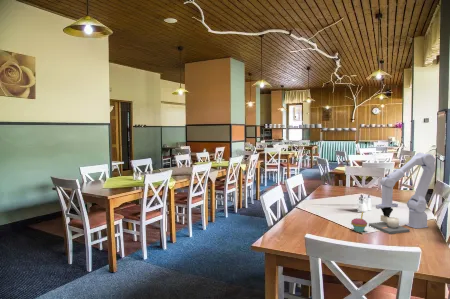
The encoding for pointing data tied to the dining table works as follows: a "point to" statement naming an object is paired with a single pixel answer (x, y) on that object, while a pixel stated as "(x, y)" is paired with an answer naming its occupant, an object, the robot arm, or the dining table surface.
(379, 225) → the post board
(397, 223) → the cream ball joystick
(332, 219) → the dining table surface
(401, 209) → the dining table surface
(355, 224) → the cupcake
